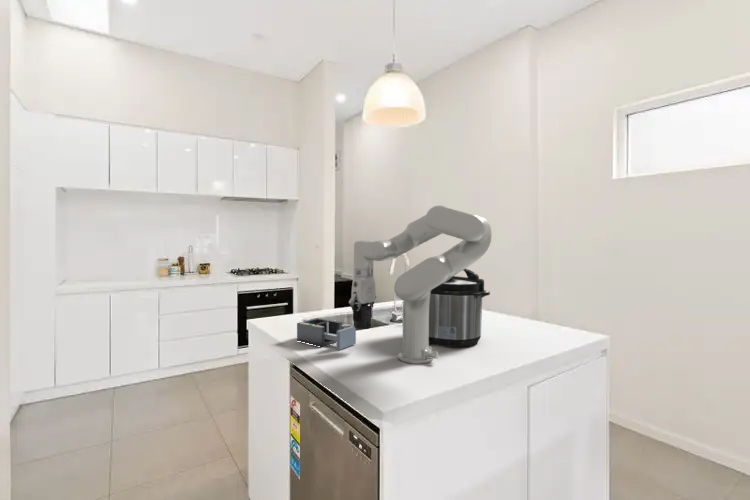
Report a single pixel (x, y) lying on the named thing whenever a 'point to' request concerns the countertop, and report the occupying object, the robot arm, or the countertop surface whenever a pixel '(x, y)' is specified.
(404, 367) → the countertop surface
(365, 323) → the supplement bottle
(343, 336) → the gauge plunger
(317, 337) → the box
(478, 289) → the pressure cooker
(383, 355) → the countertop surface
